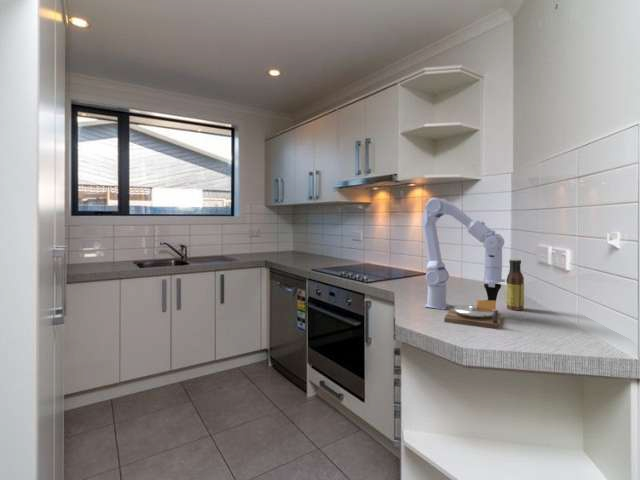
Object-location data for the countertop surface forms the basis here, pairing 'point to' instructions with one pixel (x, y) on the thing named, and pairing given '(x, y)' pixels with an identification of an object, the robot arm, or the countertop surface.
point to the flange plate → (477, 309)
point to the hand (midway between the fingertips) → (492, 303)
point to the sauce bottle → (515, 286)
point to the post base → (474, 319)
